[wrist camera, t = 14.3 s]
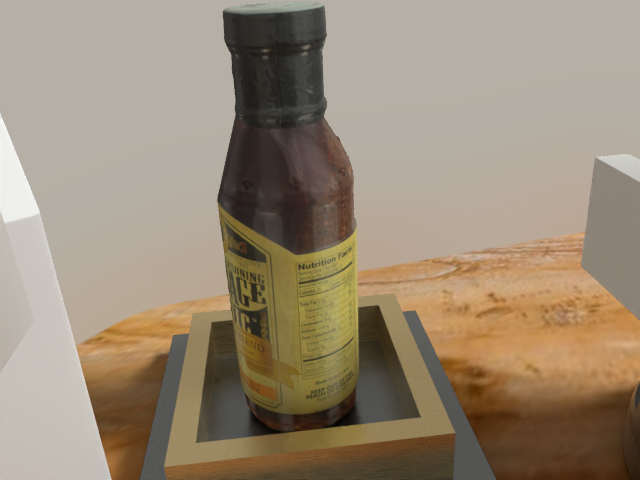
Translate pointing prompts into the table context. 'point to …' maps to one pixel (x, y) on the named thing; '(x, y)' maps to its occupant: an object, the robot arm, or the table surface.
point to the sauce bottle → (288, 223)
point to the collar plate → (320, 444)
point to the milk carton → (42, 358)
